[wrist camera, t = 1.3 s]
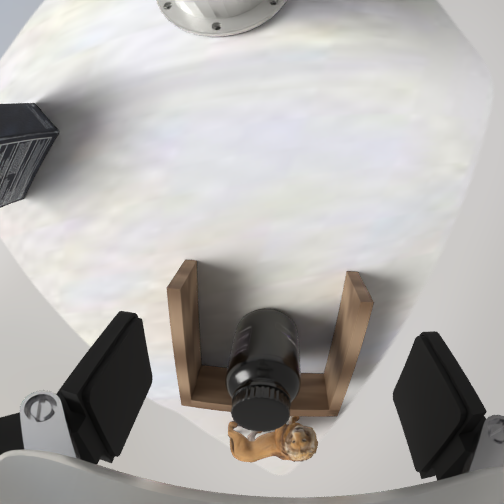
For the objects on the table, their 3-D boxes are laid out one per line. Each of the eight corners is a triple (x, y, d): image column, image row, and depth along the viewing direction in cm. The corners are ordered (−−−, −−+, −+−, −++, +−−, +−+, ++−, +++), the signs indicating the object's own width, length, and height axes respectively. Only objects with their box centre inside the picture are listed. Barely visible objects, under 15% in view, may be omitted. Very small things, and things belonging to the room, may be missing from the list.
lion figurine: (301, 389, 37) (304, 445, 28) (322, 408, 38) (328, 461, 30) (217, 425, 41) (208, 474, 32) (241, 441, 42) (235, 488, 34)
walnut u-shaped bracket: (185, 259, 31) (166, 287, 25) (357, 271, 30) (373, 302, 24) (192, 370, 37) (181, 405, 31) (331, 380, 36) (337, 416, 30)
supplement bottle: (309, 322, 33) (320, 406, 22) (278, 363, 35) (276, 446, 24) (252, 295, 32) (241, 378, 21) (225, 340, 34) (206, 423, 23)
